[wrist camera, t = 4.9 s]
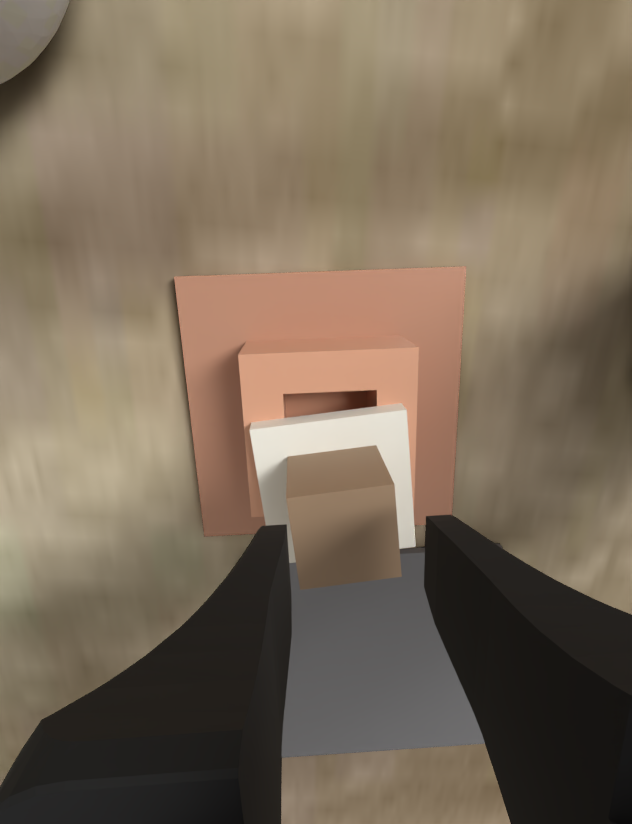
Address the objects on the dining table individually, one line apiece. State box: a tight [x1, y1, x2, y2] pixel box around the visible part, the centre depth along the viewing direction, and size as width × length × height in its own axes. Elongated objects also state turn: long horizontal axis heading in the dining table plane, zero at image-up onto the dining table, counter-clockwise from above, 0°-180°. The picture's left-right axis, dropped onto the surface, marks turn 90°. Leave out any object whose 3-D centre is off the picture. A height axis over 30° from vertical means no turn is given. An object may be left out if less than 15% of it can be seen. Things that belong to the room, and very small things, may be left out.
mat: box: [282, 543, 503, 758], centre depth 24 cm, size 12×12×1 cm
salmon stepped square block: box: [174, 266, 466, 536], centre depth 18 cm, size 11×11×4 cm
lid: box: [249, 403, 416, 590], centre depth 15 cm, size 5×5×4 cm
